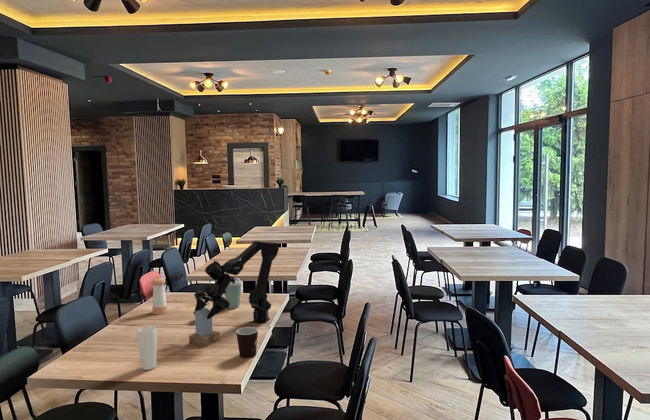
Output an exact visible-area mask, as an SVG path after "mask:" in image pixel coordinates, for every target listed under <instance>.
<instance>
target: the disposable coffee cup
mask: <svg viewBox="0 0 650 420" xmlns="http://www.w3.org/2000/svg"><path fill="white" fill-rule="evenodd" d="M234 280H235V283H230V284H229V286H228V287H227V289H226V290H225V291H226V292H227V293H226V294H224V298H225V299H226V300H227V301H228V302H230V306H229V307H228V309H238V308H239V307H240V305H241V293H242V291H241V290H242V280H241V279H240V278H238V277H234Z"/></svg>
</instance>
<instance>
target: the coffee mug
mask: <svg viewBox="0 0 650 420" xmlns="http://www.w3.org/2000/svg"><path fill="white" fill-rule="evenodd" d="M235 331H236V332H235V334H236V340H237V347H238V353H239V357H240V358H242V359H252V358H254V357H256V355H257V346H258V335H259V329H258V328H257V327H253V326H246V327H239V329H237V330H235Z"/></svg>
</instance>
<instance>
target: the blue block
mask: <svg viewBox="0 0 650 420" xmlns="http://www.w3.org/2000/svg"><path fill="white" fill-rule="evenodd" d="M210 310H211V309H210ZM210 310H208V309H202V310H198V311H195V310H194V311H195V315H194V316H195V319H194V320H195V333H196V334H197V335H200V336H202V337H203V336H206V335H209V334H212V331H213V317H211V318H210V319H207V316H208V314H209V312H210Z"/></svg>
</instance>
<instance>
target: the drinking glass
mask: <svg viewBox="0 0 650 420" xmlns="http://www.w3.org/2000/svg"><path fill="white" fill-rule="evenodd" d="M137 345H138V350H139V351H138V352H139V358H140V366H141V367H140V368H141V369H142V370H143V371H149V370H150V369H151V370H153V369H155V368H157V354H158V353H157V349H158V329H157V327H156V326H154V325H147V326H143V327H139V328H138V329H137Z"/></svg>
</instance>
